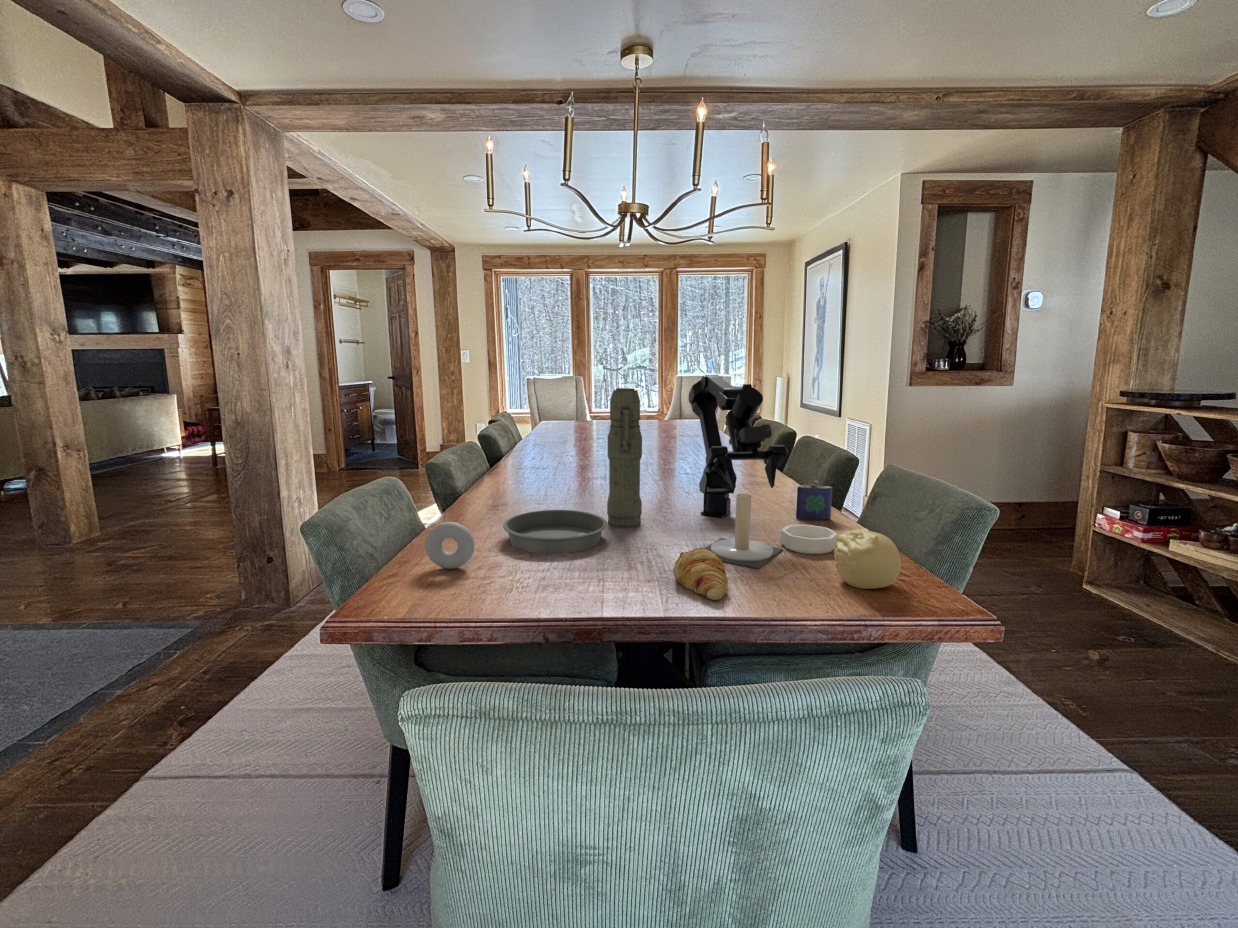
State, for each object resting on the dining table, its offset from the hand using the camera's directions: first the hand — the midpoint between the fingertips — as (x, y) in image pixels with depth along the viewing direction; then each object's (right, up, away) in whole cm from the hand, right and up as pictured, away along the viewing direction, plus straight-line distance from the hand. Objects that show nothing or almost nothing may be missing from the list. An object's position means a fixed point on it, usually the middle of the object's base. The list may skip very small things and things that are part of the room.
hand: (753, 487), depth 142 cm
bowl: (+13, -14, 0) cm, 19 cm away
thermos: (-30, -10, +19) cm, 37 cm away
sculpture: (+17, -18, -22) cm, 33 cm away
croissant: (-16, -18, -22) cm, 33 cm away
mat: (-4, -14, -5) cm, 16 cm away
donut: (-66, -16, -15) cm, 69 cm away
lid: (-4, -14, -5) cm, 15 cm away
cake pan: (-46, -13, +5) cm, 48 cm away
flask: (+21, -10, +24) cm, 34 cm away
